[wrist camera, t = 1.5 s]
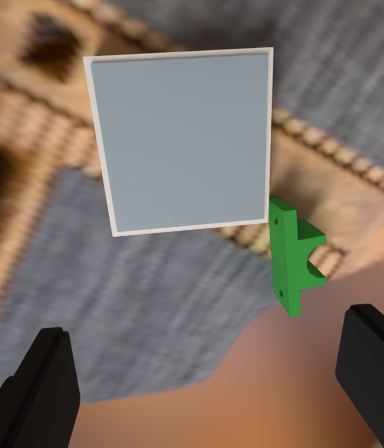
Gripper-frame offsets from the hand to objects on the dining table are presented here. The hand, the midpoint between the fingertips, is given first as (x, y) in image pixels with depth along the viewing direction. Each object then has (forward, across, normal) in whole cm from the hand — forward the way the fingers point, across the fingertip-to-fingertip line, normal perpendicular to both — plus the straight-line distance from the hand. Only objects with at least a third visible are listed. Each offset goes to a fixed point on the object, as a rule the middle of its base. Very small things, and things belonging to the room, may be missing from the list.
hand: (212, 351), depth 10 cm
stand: (+20, -1, -5) cm, 21 cm away
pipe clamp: (+20, -11, +5) cm, 24 cm away
